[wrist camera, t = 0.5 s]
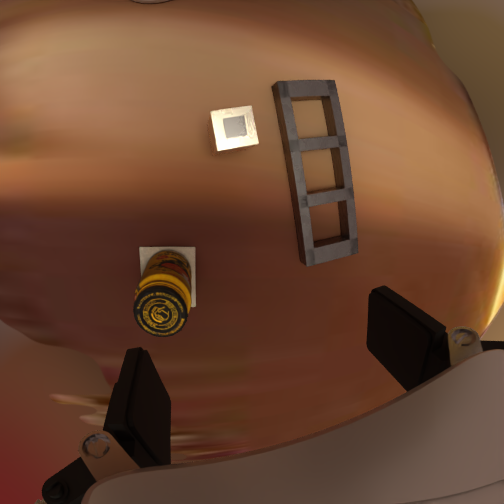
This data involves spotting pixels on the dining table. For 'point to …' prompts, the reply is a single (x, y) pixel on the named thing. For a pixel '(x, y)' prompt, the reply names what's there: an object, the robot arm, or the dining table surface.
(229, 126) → the block
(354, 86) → the dining table surface
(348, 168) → the grey flat rectangular frame
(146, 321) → the condiment
